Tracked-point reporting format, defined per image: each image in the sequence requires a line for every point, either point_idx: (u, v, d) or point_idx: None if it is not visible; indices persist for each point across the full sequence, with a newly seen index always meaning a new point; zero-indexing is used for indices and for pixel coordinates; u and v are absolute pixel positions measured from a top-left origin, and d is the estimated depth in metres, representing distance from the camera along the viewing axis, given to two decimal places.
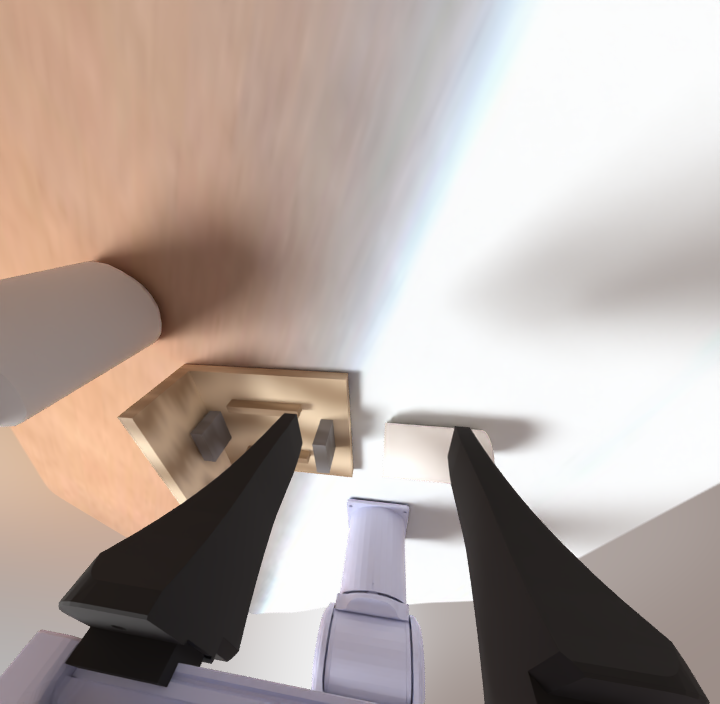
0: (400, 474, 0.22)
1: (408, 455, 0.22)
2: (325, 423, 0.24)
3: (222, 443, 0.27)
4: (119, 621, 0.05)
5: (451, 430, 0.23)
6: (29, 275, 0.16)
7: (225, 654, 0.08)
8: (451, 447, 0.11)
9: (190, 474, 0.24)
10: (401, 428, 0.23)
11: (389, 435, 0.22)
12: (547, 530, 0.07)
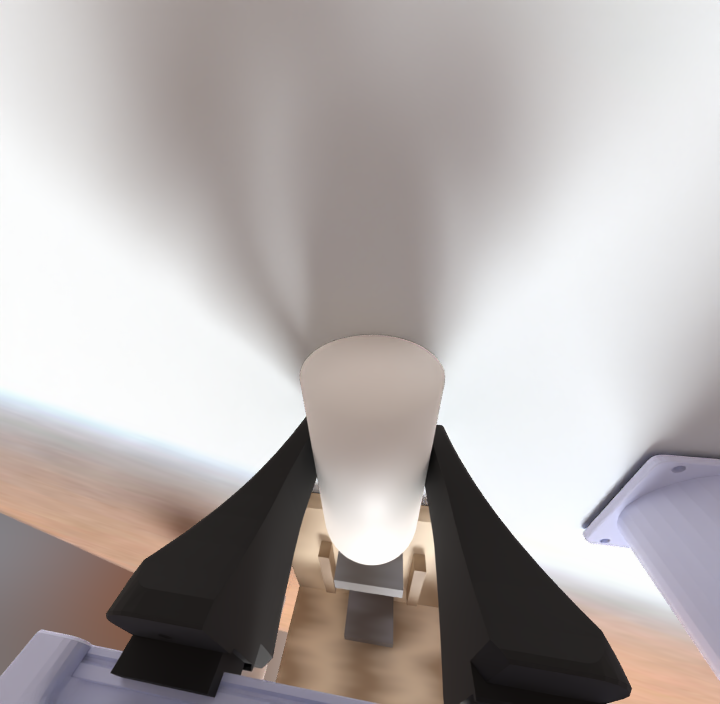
0: (369, 549, 0.10)
1: (329, 519, 0.11)
2: None
3: (384, 614, 0.22)
4: (169, 630, 0.05)
5: None
6: None
7: (261, 661, 0.08)
8: None
9: (391, 679, 0.20)
10: None
11: None
12: (501, 525, 0.07)
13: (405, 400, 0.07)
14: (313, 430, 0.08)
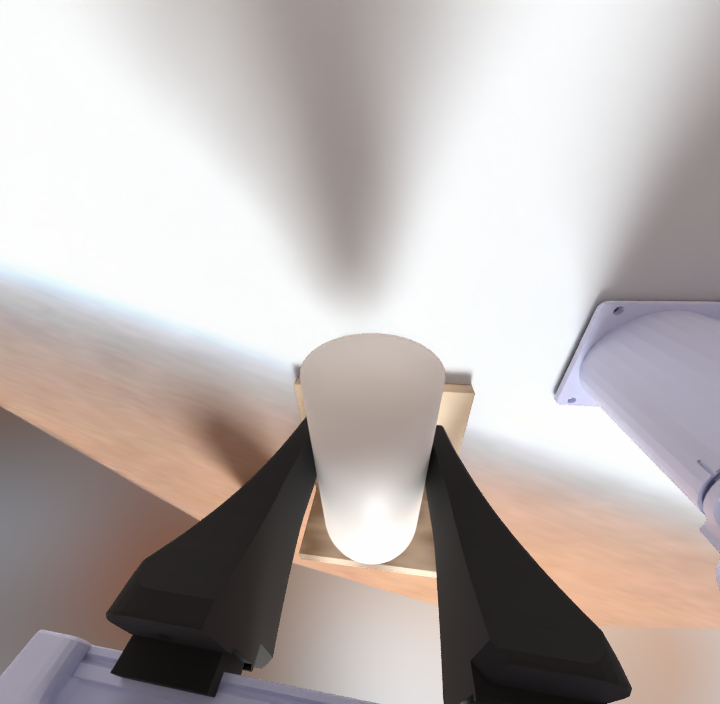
0: (370, 548, 0.10)
1: (328, 518, 0.11)
2: None
3: None
4: (169, 630, 0.05)
5: None
6: None
7: (260, 662, 0.08)
8: None
9: None
10: None
11: None
12: (502, 525, 0.07)
13: (405, 397, 0.07)
14: (313, 428, 0.08)
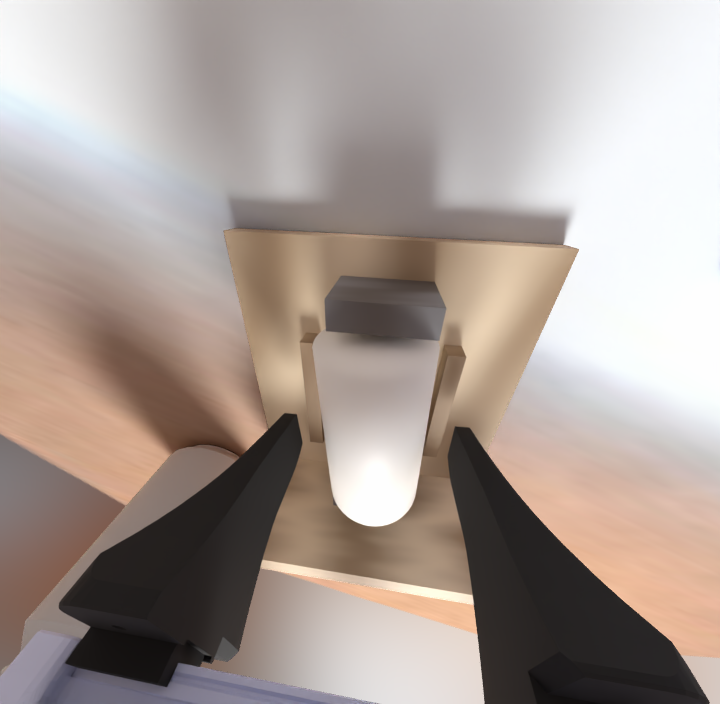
0: (374, 509, 0.12)
1: (336, 484, 0.12)
2: None
3: None
4: (119, 621, 0.05)
5: None
6: None
7: (225, 654, 0.08)
8: (451, 447, 0.11)
9: (398, 548, 0.14)
10: None
11: None
12: (547, 530, 0.07)
13: (405, 365, 0.08)
14: (324, 395, 0.09)
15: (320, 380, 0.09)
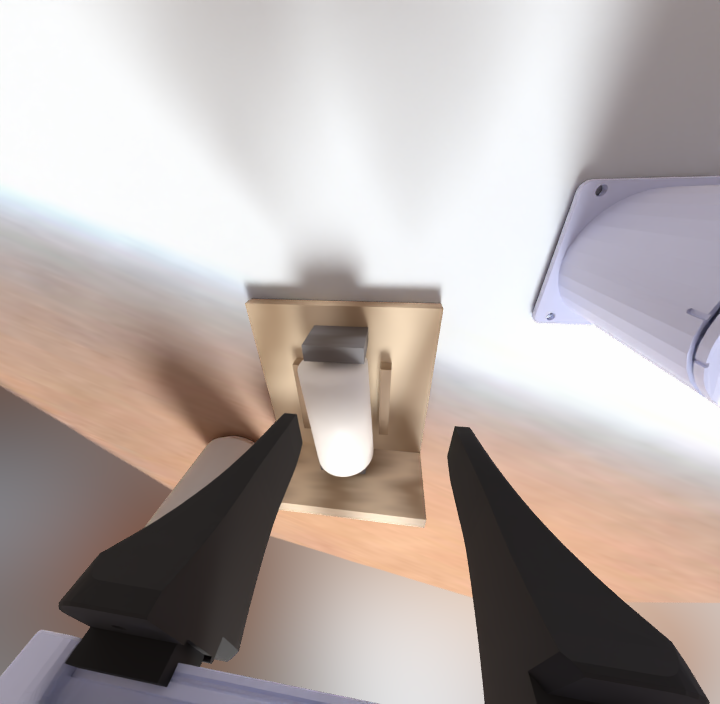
0: (341, 464, 0.19)
1: (318, 450, 0.20)
2: None
3: None
4: (119, 621, 0.05)
5: None
6: None
7: (225, 655, 0.08)
8: (451, 447, 0.11)
9: (362, 494, 0.21)
10: None
11: None
12: (547, 530, 0.07)
13: (344, 378, 0.16)
14: (305, 396, 0.17)
15: (302, 388, 0.17)
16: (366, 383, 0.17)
